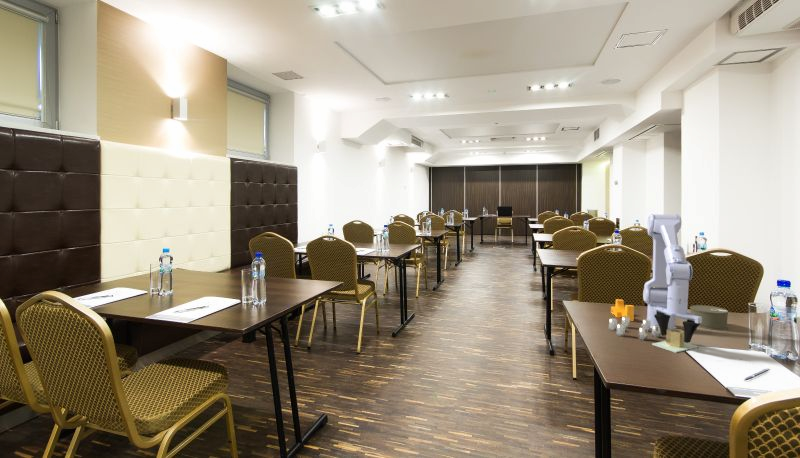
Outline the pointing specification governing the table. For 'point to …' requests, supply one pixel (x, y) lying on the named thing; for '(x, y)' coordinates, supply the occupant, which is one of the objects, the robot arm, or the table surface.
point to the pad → (674, 349)
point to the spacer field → (642, 330)
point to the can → (711, 316)
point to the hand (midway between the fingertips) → (675, 338)
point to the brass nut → (675, 337)
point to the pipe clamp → (623, 310)
